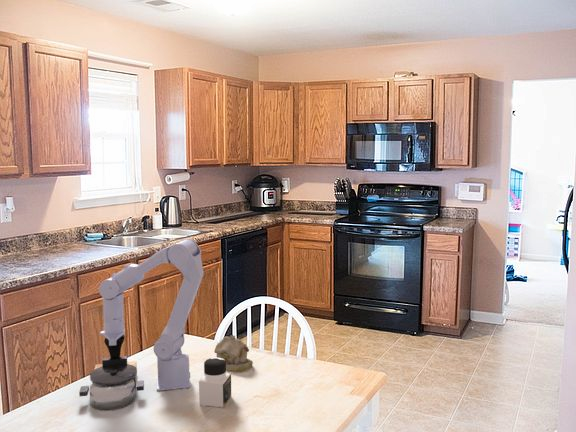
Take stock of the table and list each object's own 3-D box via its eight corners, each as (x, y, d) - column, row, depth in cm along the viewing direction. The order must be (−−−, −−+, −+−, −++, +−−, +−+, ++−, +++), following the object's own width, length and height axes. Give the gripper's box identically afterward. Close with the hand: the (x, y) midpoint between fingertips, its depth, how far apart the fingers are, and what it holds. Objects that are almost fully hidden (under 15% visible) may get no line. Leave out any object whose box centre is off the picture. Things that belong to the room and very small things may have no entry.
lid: (137, 364, 168) (137, 355, 168) (136, 382, 156) (136, 372, 155) (92, 368, 165) (92, 359, 165) (87, 387, 153) (87, 376, 152)
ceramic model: (205, 365, 181) (205, 335, 179) (229, 355, 189) (229, 326, 188) (237, 376, 172) (237, 345, 171) (260, 364, 181) (260, 335, 180)
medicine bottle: (223, 408, 151) (223, 365, 149) (199, 405, 152) (198, 363, 151) (231, 396, 158) (231, 356, 156) (207, 394, 159) (207, 354, 158)
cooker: (145, 374, 173) (144, 360, 172) (143, 406, 151) (143, 391, 151) (87, 379, 169) (87, 365, 168) (78, 413, 147) (77, 397, 147)
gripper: (102, 311, 172) (103, 353, 174) (97, 325, 158) (99, 371, 160) (125, 309, 173) (127, 351, 175) (122, 323, 159) (124, 368, 161)
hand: (115, 360), depth 167 cm, fingers closed
